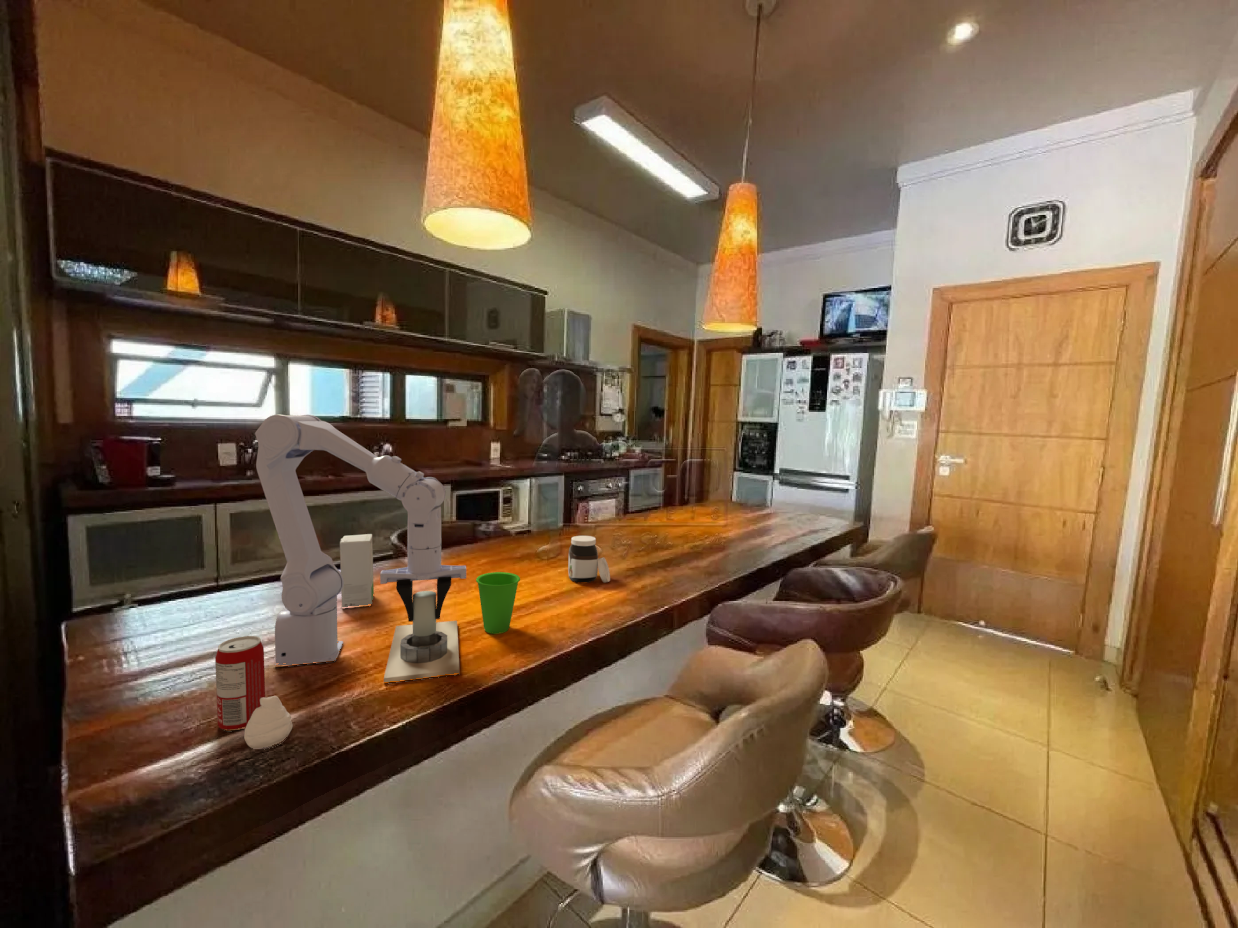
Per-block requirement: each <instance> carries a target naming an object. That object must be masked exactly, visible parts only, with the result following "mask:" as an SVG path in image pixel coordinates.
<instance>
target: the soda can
mask: <svg viewBox="0 0 1238 928" xmlns="http://www.w3.org/2000/svg"><path fill="white" fill-rule="evenodd" d="M216 651H217V652H216V654H215V659H214V661H215V683H216V684H215V690H216V712H217V716H216V717H217V726H219V727H218V729H221V730H223V729H227V730H230V729H238V728H242V727H246V726H247V723H248V721H249V720H250V718H251V716H252V714H253V712H254V710H255V709H256V708H258V707H260V706H261V704H260V699H261V698H263V697H265V698H266V680H265V679H266V677H265V676H266V675H265V674H266V673H265V648H264V644H263V642H262V640H261V637H259V636H257V635H245V636H237V637H233V638H230V639H227V640H225V641H222V642H220V644H219V645H218V646H217V650H216Z"/></svg>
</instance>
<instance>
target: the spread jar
mask: <svg viewBox="0 0 1238 928" xmlns="http://www.w3.org/2000/svg"><path fill="white" fill-rule="evenodd" d="M596 540H597V539H596V537H595V536H591V535H576V536H572V537H571V544H570V546H569V549H568V568H567V571H568V573H567V574H568V578H569V579H570V581H572V582H574V581H575V582H574V583H578V582H587V583H591V581H592V582H594V581H596V580H597V577H598V574H599V576H600V579H601V581H602V583H608V582H610V581H611V574H610V573H611V572H610V568H609V565H608V564H609V563H608V562H607V560H606V558H605V557H604V556H603V557H599V555H598V548H597V546H596V543H597V541H596Z"/></svg>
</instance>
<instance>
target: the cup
mask: <svg viewBox="0 0 1238 928" xmlns="http://www.w3.org/2000/svg"><path fill="white" fill-rule="evenodd" d="M520 581H521V577H520V576H519V575H518V574H516V573H512V572H506V571H504V572H503V571H496V572H494V571H493V572H487V573H484V574H483V573H482V574H480V575H478V576H477V577H476V579H475V582H476V583H477V586H478V592H479V600H480V601H479V602H480V608H481V609H480V610H481V615H482V616H481V617H482V624H483V628H484V631H485V632H486V633H488V634H491V635H493V634H494V635H499V634H504V633H506V632H508V631H509V628H510V625H511V621H512V615H513V610H514V605H515V599H516V595H517V591H518V586H519V582H520Z"/></svg>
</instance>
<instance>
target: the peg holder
mask: <svg viewBox="0 0 1238 928" xmlns="http://www.w3.org/2000/svg"><path fill="white" fill-rule="evenodd" d="M458 637H459V635H458V621H457V620H450V621H449V620H448V621H438V622H437V621H436V632H435V633H434V634H432V635H428V636H415V635H413V624H404V625H403V624H402V625H396V626H395V629H394V633H393V638H392V642H391V646H390V650H389V653H388V658H387V663H386V667H385V671H384V675H383V676H384V677H383V683H384V682H390V681H400V680H410V679H416V678H423V677H431V676H437V675H445V674H454V673H459V674H460V658H459V657H460V655H459V653H460V652H459V638H458Z"/></svg>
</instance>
